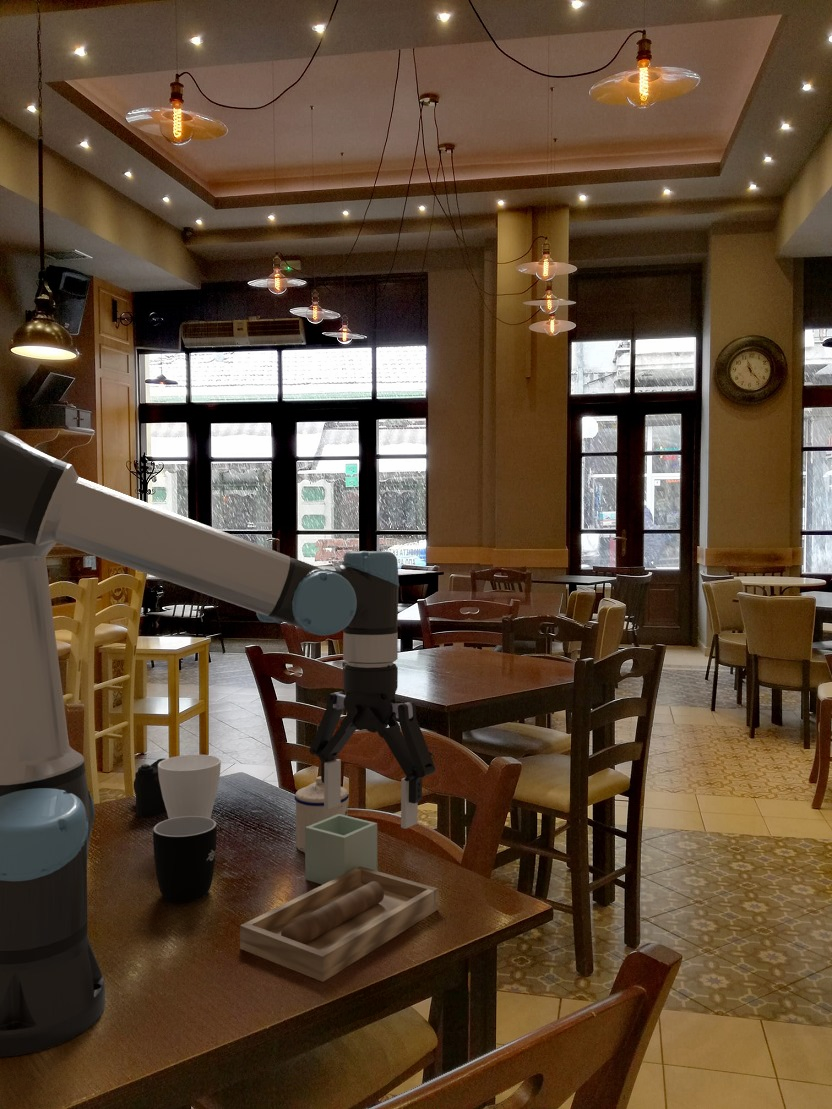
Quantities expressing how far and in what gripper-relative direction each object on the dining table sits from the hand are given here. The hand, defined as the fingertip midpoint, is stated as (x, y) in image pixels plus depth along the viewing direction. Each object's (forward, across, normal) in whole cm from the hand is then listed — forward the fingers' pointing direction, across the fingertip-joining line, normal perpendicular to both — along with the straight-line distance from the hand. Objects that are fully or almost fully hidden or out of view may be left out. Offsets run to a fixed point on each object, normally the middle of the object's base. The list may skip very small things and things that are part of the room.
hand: (369, 816), depth 121 cm
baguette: (+13, 0, -1) cm, 13 cm away
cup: (+14, +43, -4) cm, 45 cm away
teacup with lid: (+14, +24, -16) cm, 32 cm away
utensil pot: (+14, +11, -7) cm, 19 cm away
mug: (+14, +27, +10) cm, 32 cm away
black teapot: (+14, +62, -14) cm, 65 cm away
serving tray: (+14, 0, +6) cm, 15 cm away
